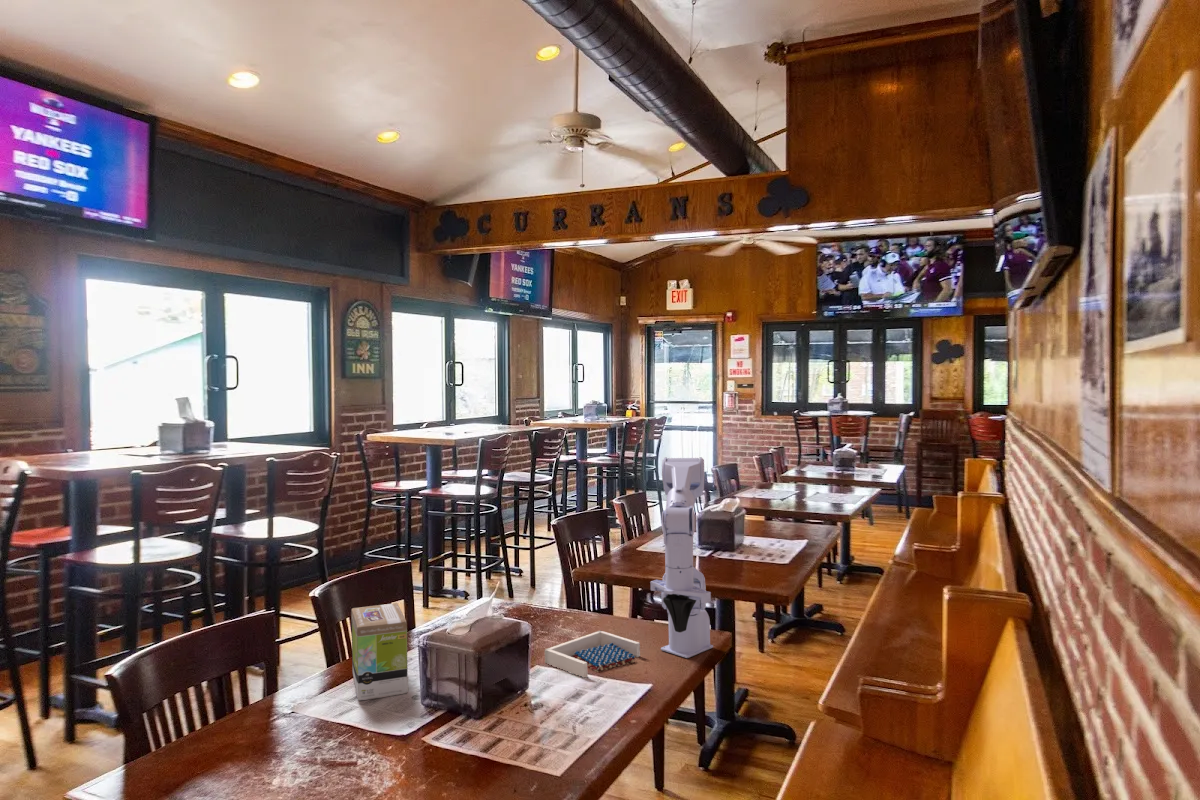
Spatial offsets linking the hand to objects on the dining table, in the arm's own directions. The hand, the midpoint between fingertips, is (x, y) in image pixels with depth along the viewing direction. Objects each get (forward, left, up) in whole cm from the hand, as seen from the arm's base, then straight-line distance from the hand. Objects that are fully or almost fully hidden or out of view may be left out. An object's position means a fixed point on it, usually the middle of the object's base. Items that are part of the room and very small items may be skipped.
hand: (680, 630), depth 161 cm
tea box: (+45, -43, -10) cm, 63 cm away
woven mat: (+4, -18, -10) cm, 21 cm away
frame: (+6, -20, -9) cm, 23 cm away
